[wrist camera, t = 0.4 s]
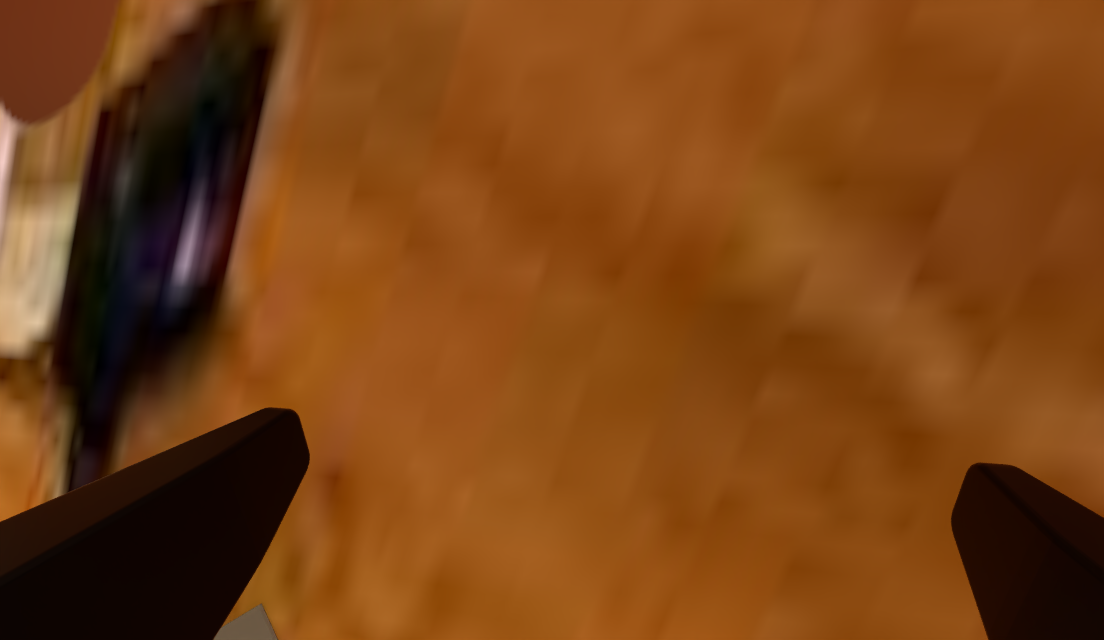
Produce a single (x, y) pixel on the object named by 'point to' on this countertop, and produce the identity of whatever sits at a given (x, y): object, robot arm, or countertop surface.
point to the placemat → (248, 627)
